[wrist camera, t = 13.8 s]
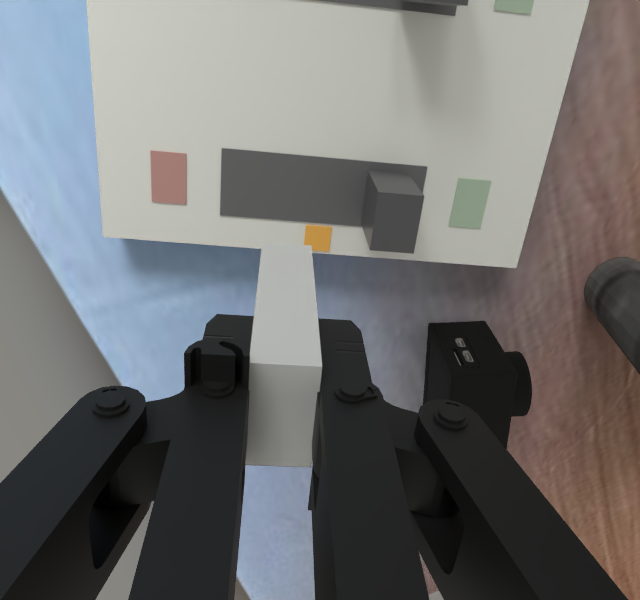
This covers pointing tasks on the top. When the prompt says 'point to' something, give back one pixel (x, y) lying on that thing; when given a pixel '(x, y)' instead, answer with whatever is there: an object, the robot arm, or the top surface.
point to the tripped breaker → (391, 212)
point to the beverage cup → (618, 303)
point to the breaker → (441, 2)
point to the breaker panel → (326, 119)
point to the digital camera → (477, 374)
